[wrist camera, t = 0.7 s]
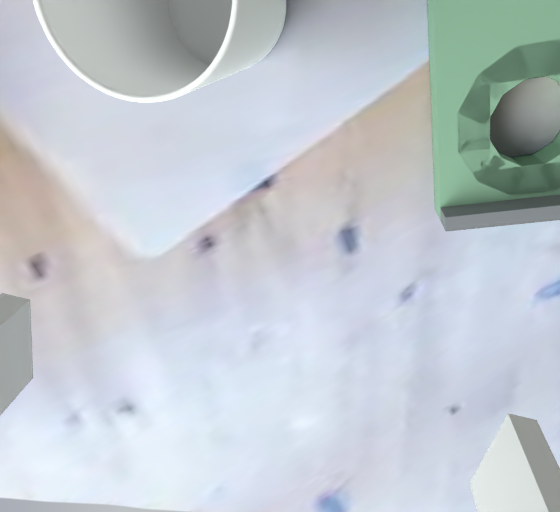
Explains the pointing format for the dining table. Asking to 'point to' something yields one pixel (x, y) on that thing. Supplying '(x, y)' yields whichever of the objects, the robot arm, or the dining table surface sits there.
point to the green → (489, 110)
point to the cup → (160, 42)
